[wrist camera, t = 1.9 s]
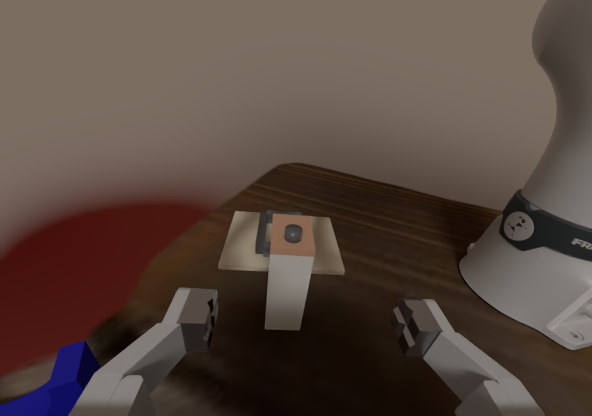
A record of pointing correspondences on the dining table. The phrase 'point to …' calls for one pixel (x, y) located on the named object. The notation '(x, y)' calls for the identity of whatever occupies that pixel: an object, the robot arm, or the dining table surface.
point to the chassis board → (257, 241)
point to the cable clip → (58, 385)
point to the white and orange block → (289, 271)
